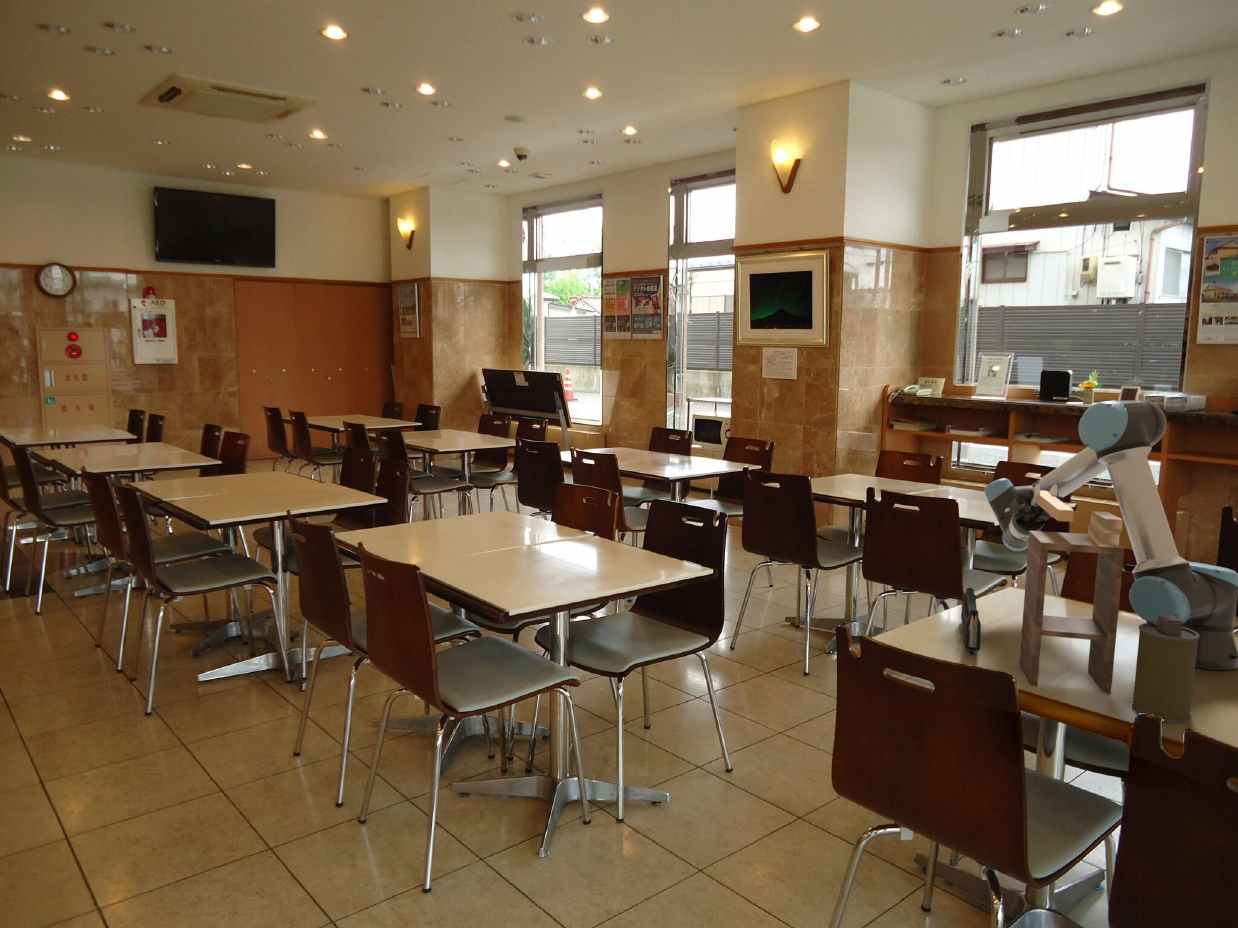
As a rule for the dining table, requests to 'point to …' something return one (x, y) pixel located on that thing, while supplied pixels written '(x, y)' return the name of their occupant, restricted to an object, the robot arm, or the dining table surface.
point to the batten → (1055, 507)
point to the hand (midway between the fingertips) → (1047, 489)
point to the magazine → (970, 622)
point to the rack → (1106, 598)
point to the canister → (1165, 669)
